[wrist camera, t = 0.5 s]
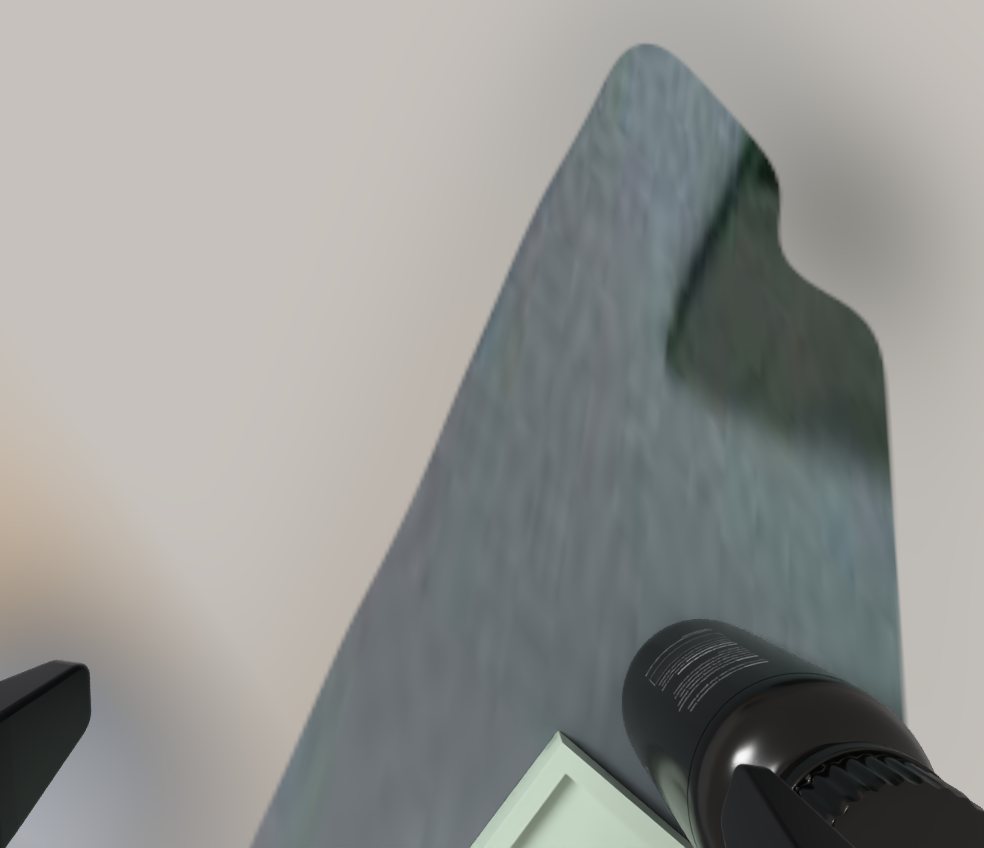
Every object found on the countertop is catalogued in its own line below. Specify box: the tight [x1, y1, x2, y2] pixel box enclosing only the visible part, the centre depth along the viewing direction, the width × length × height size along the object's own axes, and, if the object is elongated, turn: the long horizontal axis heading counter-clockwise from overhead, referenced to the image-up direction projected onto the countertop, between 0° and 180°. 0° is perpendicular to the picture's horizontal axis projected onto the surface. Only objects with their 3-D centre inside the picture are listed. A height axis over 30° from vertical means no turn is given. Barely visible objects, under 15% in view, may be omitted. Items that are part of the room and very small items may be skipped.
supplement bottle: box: [622, 619, 984, 848], centre depth 18 cm, size 7×7×12 cm
